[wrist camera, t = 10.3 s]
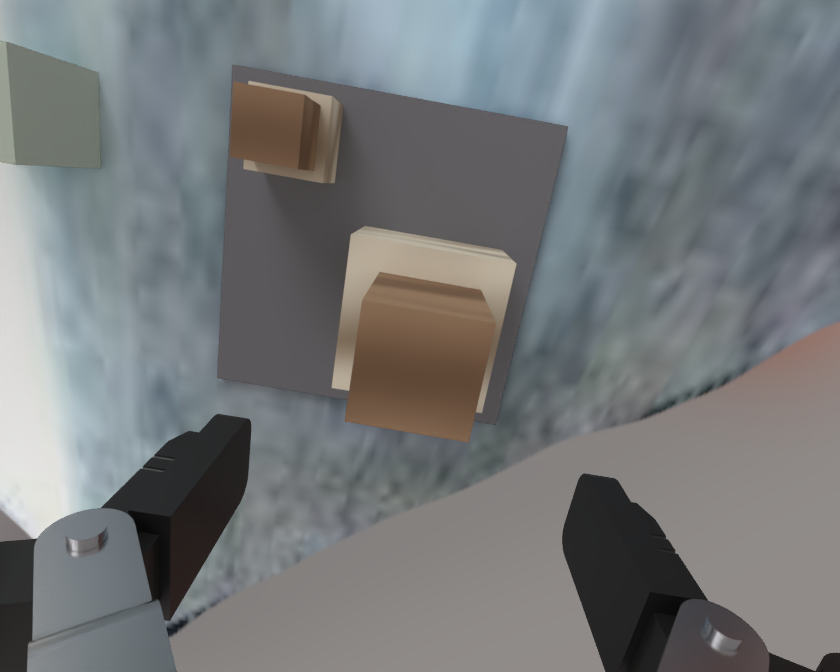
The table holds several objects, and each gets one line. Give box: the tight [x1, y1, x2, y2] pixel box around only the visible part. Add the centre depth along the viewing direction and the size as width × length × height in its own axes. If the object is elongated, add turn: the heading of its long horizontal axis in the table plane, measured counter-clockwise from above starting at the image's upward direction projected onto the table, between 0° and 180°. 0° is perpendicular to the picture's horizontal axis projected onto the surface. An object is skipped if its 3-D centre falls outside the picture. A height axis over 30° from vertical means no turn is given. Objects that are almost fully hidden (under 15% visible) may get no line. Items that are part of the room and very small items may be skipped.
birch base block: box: [332, 226, 516, 413], centre depth 27 cm, size 8×8×5 cm
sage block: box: [0, 41, 101, 168], centre depth 24 cm, size 5×5×6 cm
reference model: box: [230, 81, 343, 183], centre depth 24 cm, size 4×4×6 cm
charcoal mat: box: [217, 65, 568, 425], centre depth 29 cm, size 18×18×1 cm
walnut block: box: [345, 272, 496, 442], centre depth 21 cm, size 5×5×6 cm
